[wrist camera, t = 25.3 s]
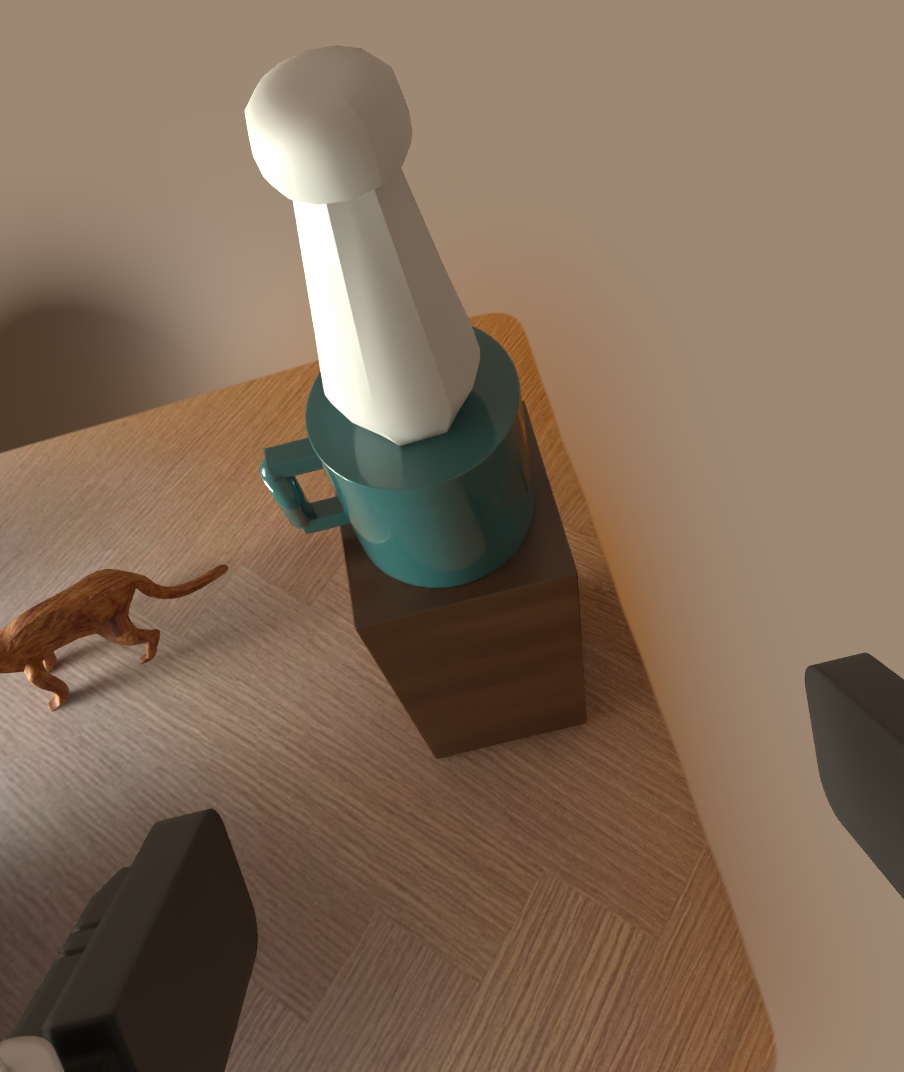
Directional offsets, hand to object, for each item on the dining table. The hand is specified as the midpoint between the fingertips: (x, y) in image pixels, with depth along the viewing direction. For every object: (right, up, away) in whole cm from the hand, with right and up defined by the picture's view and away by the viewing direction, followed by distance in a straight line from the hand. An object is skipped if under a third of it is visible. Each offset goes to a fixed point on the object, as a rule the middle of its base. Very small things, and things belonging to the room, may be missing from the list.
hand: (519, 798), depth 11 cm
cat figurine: (-25, -4, +52) cm, 58 cm away
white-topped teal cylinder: (-3, +5, +28) cm, 29 cm away
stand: (+2, -6, +46) cm, 47 cm away
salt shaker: (-2, +9, +22) cm, 23 cm away
